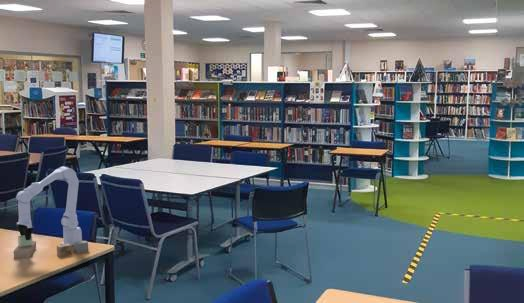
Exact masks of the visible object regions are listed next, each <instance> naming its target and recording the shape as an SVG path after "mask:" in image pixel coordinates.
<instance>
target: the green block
mask: <svg viewBox="0 0 524 303" xmlns="http://www.w3.org/2000/svg"><path fill="white" fill-rule="evenodd" d="M33 241H34V240H33V235H31V239H30V240H26V239H25V235H22V236H21V235H18V236H17V242H18V243H17V246H18V245H19V246H20V247H24V246H29V245H33Z"/></svg>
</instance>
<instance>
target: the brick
mask: <svg viewBox="0 0 524 303" xmlns="http://www.w3.org/2000/svg"><path fill="white" fill-rule="evenodd" d="M32 241H33V245H29V246H24V247H20V246H19V245H18V244H17V246H16V247H15V248H14V250H13V259H23V258H24V259H25V258H27V259H28V258H31V257H32V255H33V253H34V252H35V250H36V248H37V241H36V240H32Z"/></svg>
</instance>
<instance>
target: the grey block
mask: <svg viewBox="0 0 524 303" xmlns="http://www.w3.org/2000/svg"><path fill="white" fill-rule="evenodd" d="M73 246H74V247H73V248H74V252H75V253H76V254H79V253H80V254H81V253H85V252H89V241H87V240H82V241H80V242H75V243H74V245H73Z"/></svg>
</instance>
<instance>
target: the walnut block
mask: <svg viewBox="0 0 524 303" xmlns="http://www.w3.org/2000/svg"><path fill="white" fill-rule="evenodd" d="M56 255H57V256H59V257H64V256H68V255H72V245H70V244H68V243H67V244H58V245H56Z"/></svg>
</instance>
